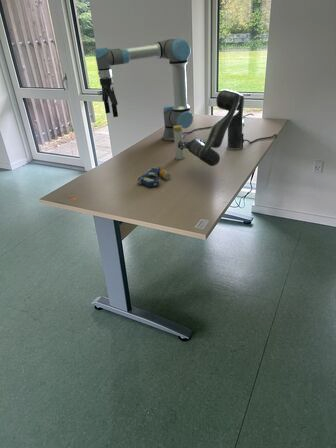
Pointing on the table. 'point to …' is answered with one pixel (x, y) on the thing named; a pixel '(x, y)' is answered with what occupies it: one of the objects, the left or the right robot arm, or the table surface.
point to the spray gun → (153, 174)
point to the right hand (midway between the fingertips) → (187, 141)
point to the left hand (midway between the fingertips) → (111, 114)
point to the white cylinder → (177, 139)
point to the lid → (177, 128)
